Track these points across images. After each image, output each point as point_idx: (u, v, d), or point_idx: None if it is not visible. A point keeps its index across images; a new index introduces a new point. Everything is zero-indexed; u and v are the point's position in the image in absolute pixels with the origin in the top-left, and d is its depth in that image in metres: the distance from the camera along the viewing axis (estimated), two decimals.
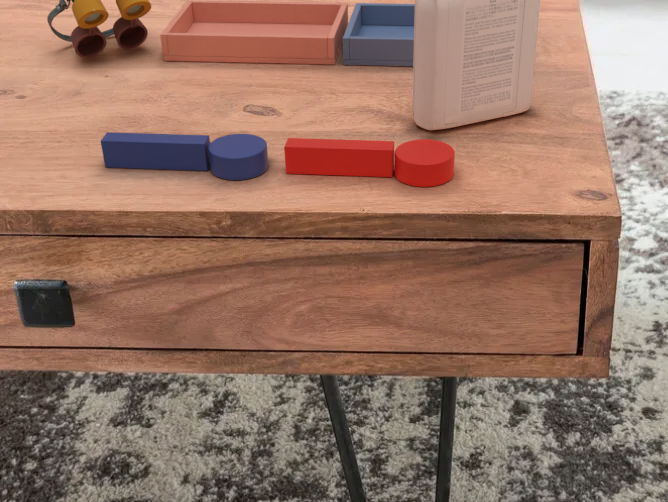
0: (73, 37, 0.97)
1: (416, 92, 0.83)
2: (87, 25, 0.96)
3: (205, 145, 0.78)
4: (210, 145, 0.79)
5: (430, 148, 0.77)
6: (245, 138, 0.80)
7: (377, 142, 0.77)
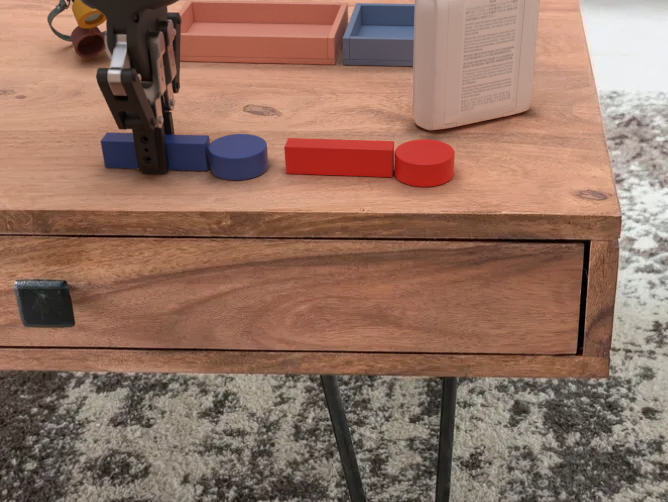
0: (73, 37, 0.97)
1: (416, 92, 0.83)
2: (87, 25, 0.96)
3: (205, 145, 0.78)
4: (210, 145, 0.79)
5: (430, 148, 0.77)
6: (245, 138, 0.80)
7: (377, 142, 0.77)
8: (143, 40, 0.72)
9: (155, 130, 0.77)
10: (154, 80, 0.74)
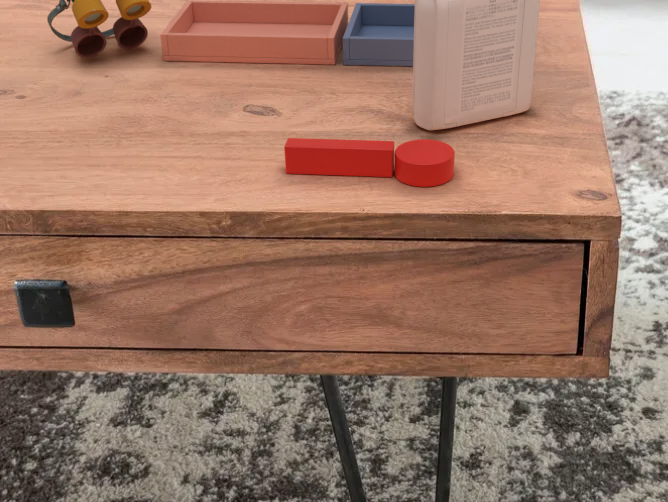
0: (73, 37, 0.97)
1: (416, 92, 0.83)
2: (87, 25, 0.96)
3: None
4: None
5: (430, 148, 0.77)
6: None
7: (377, 142, 0.77)
8: None
9: None
10: None
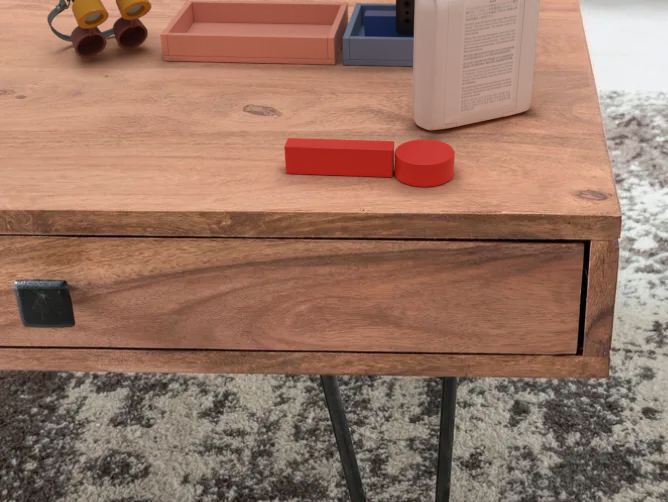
0: (73, 37, 0.97)
1: (416, 92, 0.83)
2: (87, 25, 0.96)
3: None
4: None
5: (430, 148, 0.77)
6: None
7: (377, 142, 0.77)
8: None
9: None
10: None
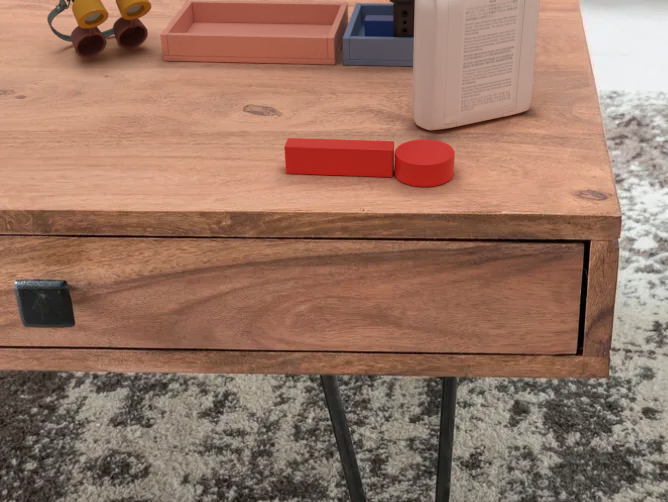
0: (73, 37, 0.97)
1: (416, 92, 0.83)
2: (87, 25, 0.96)
3: None
4: None
5: (430, 148, 0.77)
6: None
7: (377, 142, 0.77)
8: None
9: (413, 5, 0.94)
10: None
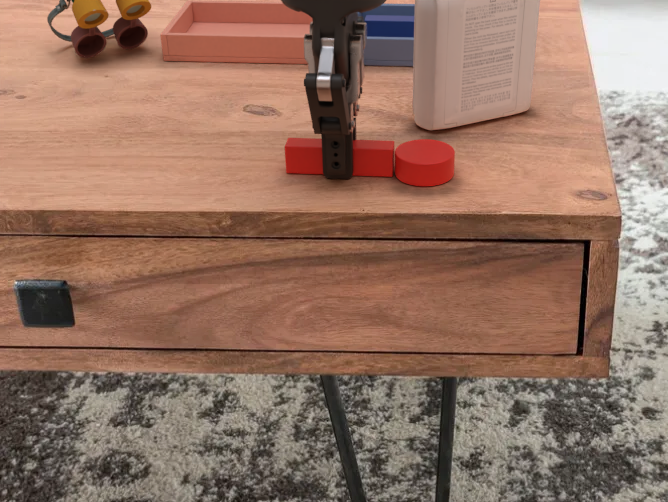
0: (73, 37, 0.97)
1: (416, 92, 0.83)
2: (87, 25, 0.96)
3: None
4: None
5: (430, 148, 0.77)
6: None
7: (377, 142, 0.78)
8: (346, 43, 0.70)
9: (346, 134, 0.75)
10: (352, 84, 0.73)
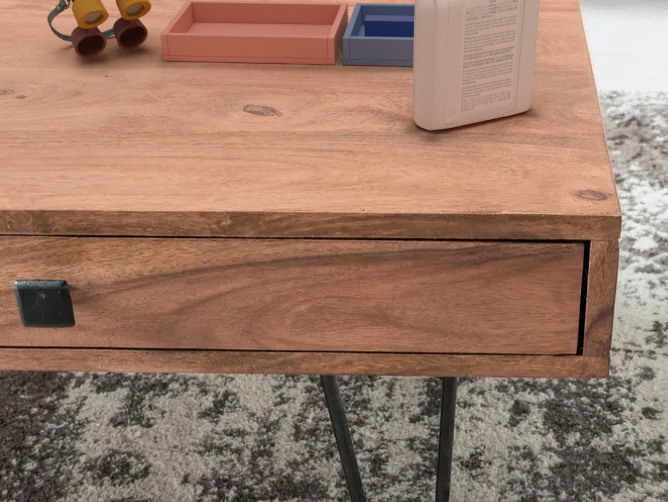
0: (73, 37, 0.97)
1: (416, 92, 0.83)
2: (87, 25, 0.96)
3: None
4: None
5: None
6: None
7: None
8: None
9: None
10: None
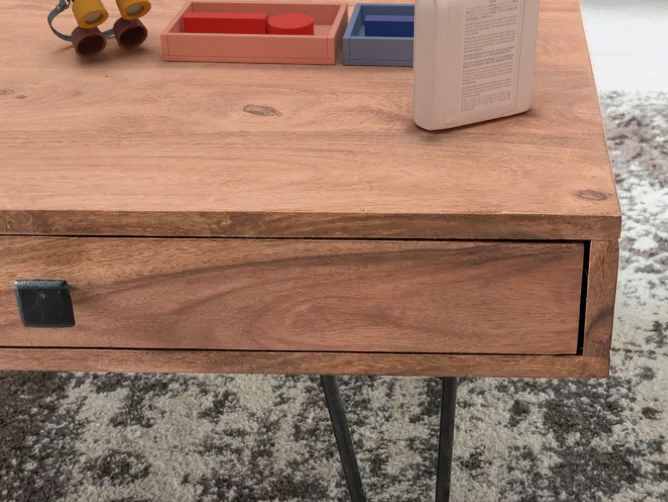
0: (73, 37, 0.97)
1: (416, 92, 0.83)
2: (87, 25, 0.96)
3: None
4: None
5: (295, 18, 1.00)
6: None
7: (254, 14, 1.00)
8: None
9: None
10: None
